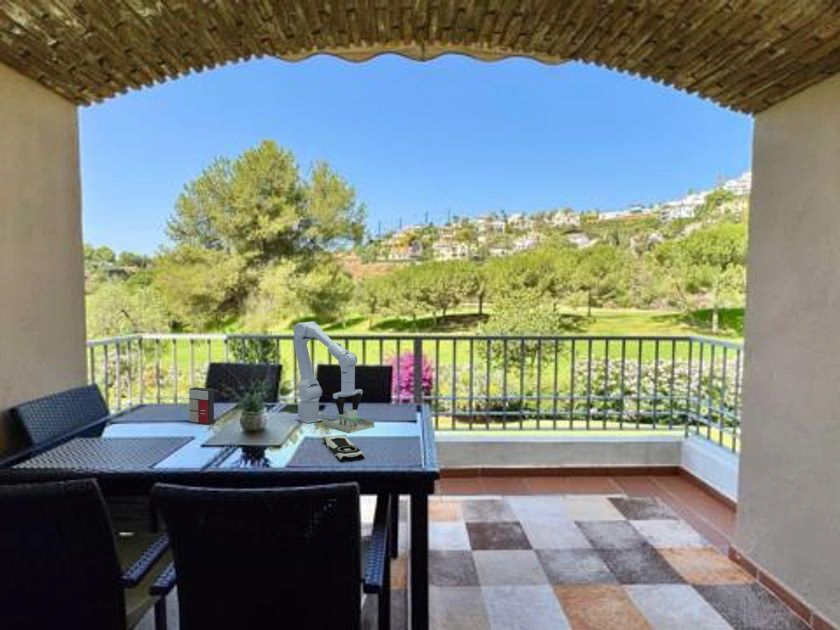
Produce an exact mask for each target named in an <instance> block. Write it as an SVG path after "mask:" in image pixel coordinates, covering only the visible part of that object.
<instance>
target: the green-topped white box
mask: <svg viewBox="0 0 840 630" xmlns="http://www.w3.org/2000/svg"><path fill="white" fill-rule="evenodd" d="M335 415H336V418H338V419H339V418H340V419H344V420H347V421H355V420H360V418H361V416H359V415H358V409H357V410H354V409H353V408H349V407H347V408H344V412H343V415H340V414H339V413H338V414H335Z"/></svg>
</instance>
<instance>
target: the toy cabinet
mask: <svg viewBox="0 0 840 630" xmlns="http://www.w3.org/2000/svg"><path fill="white" fill-rule="evenodd" d="M188 392H189V396H188V397H189V400H188V401H189V402H188V403H189V408H188V409H189V423H195V424H201V425H212V424H214V423H215V401H214V400H215V392H216V390H215V389H214V388H206V387H198V386H197V387H191V388H189V390H188Z"/></svg>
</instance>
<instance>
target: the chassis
mask: <svg viewBox="0 0 840 630" xmlns="http://www.w3.org/2000/svg"><path fill="white" fill-rule="evenodd" d="M322 419H323V420H322V421H321V422H322V423H321V425H322V426H325V427H327V428H331V429H334V430H337V431H340V432H343V433H347V434H349V433H354V432H355V433H356V432H358V431H362V430H367V429H371V427H372V428H374V427H375V421H373V420H371V419H367V418H363V417H360V420H355V421H347V420H344V419H340V418H338V419H337V420H328V419H324V418H322Z"/></svg>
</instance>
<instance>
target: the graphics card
mask: <svg viewBox="0 0 840 630" xmlns="http://www.w3.org/2000/svg"><path fill="white" fill-rule="evenodd" d="M320 439H321V441H322V442H321V443H320V444H321V445H326V446H327V447H326V446H325V447H326V448H327V449H328V451H329V450H330V451H331V452H332V453H333V454H332V453H331V452H330V451H329V452H330V453H331V454H332V455H333V456H334V458H335V459H336V460H337V461H338V460H339V461H340V462H341V463H346V462H345V461H349V462H355V461H354V460H358V461H363V460H362V459H364V460H365V455H364V453H363V451H362V450H361V449H360V448H359V447H358V446H356V445H355V444H354V443H353V442H352V441H350V440H349V438H348V437H347V434H342V435H340V434H339V435H333V436H323V437H321V438H320ZM339 461H338V462H339ZM340 462H339V463H340Z"/></svg>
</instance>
